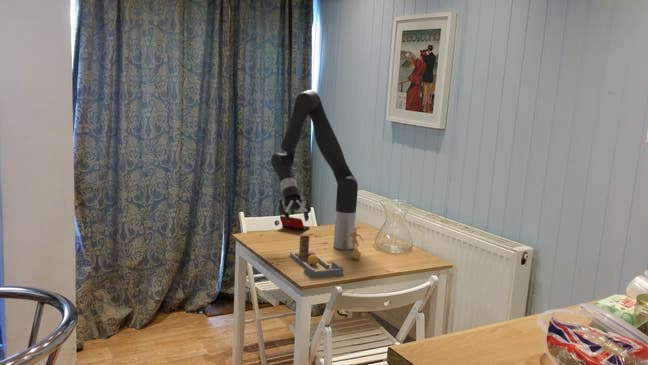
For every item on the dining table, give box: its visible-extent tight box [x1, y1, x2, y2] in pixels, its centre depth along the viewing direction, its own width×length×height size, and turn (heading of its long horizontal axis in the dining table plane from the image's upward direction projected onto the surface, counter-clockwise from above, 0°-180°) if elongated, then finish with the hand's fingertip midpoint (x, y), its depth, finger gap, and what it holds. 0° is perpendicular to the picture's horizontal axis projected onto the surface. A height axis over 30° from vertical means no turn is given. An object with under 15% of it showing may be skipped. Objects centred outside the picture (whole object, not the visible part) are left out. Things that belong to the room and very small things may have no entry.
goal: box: [303, 260, 344, 279], centre depth 225 cm, size 13×8×3 cm, turn 114°
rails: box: [289, 251, 330, 270], centre depth 238 cm, size 10×20×2 cm, turn 24°
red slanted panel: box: [279, 215, 310, 232], centre depth 290 cm, size 12×11×7 cm
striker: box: [294, 233, 316, 262], centre depth 242 cm, size 6×8×10 cm
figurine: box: [347, 231, 364, 261], centre depth 245 cm, size 8×6×12 cm
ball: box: [307, 254, 319, 266], centre depth 234 cm, size 4×4×4 cm
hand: (297, 220), depth 249 cm, fingers open, 8 cm apart
